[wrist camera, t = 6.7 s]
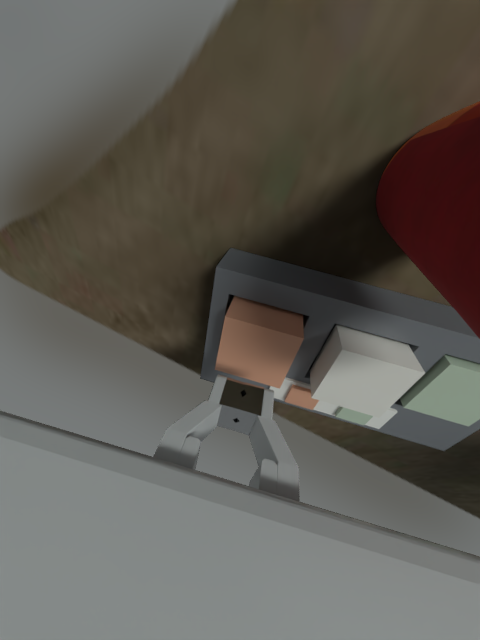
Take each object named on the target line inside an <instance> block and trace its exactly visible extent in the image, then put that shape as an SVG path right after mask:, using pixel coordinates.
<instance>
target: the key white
mask: <svg viewBox="0 0 480 640" xmlns="http://www.w3.org/2000/svg"><path fill="white" fill-rule="evenodd" d="M424 374H425V371H424V370H423V368H422V366H421V365H420V363H419V361H418V360H417V358H416V357H415V355H414V353H413V352H412V350H411V348H410V347H409V345H408V343H404V342H401V341H397V340H393V339H390V338H386V337H383V336H379V335H375V334H372V333H368V332H364V331H361V330H357V329H354V328H350V327H346V326H343V325H339V324H336V325H335V327H334V328H333V330H332V332H331V334H330V336H329V337H328V339H327V341H326V343H325V344H324V346H323V348H322V350H321V351H320V353H319V355H318V357H317V358H316V360H315V362H314V364H313V366H312V367H311V369H310V384H311V398H313V399H317V400H320V401H323V402H327V403H330V404H334V405H337V406H340V407H344V408H347V409H350V410H354V411H357V412H361V413H364V414H367V415H371V416H374V417H378V418H380V417H381V416H382V415H383V414H384V413H385V412H386V411H387V410H388V409H389V408H390V407H391V406H392V405H393V404H394V403H395V402H396V401H397V400H398V399H399V398H400V397H401V396H402V395H403V394H404V393H405V392H406V391H407V390H408V389H409V388H410V387H412V386H413V385H414V384H415V383H416V382H417V381H418V380H419V379H420V378H421V377H422V376H423V375H424Z"/></svg>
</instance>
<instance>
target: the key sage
mask: <svg viewBox="0 0 480 640" xmlns="http://www.w3.org/2000/svg"><path fill="white" fill-rule="evenodd" d="M400 401H401V403H402V405H403V408H407V409H410V410H413V411H417V412H420V413H424V414H427V415H431V416H434V417H438V418H441V419H444V420H448V421H451V422H455V423H458V424H462V425H465V426H468V427H469V426H470V425H472V424H473V423H475V422H476V421H478V420H479V419H480V363H476V362H473V361H469V360H466V359H462V358H458V357H455V356H451V355H448V354H445V355H444V356H443V357H442V358H441V359H439V360H438V361H437V362H436V363H435V364H434V365H433V366H432V367H431V368H430V369H429V370H428V371H427V372H426V373H425V374H424V375H423V376H422V377H421V378H420V379H419V380H418V381H417V382H416V383H415V384H414V385H413V386H412V387H411V388H410V389H409V390H408V391H406V392H405V393H404V394H403V395H402V396H401V397H400Z"/></svg>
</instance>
